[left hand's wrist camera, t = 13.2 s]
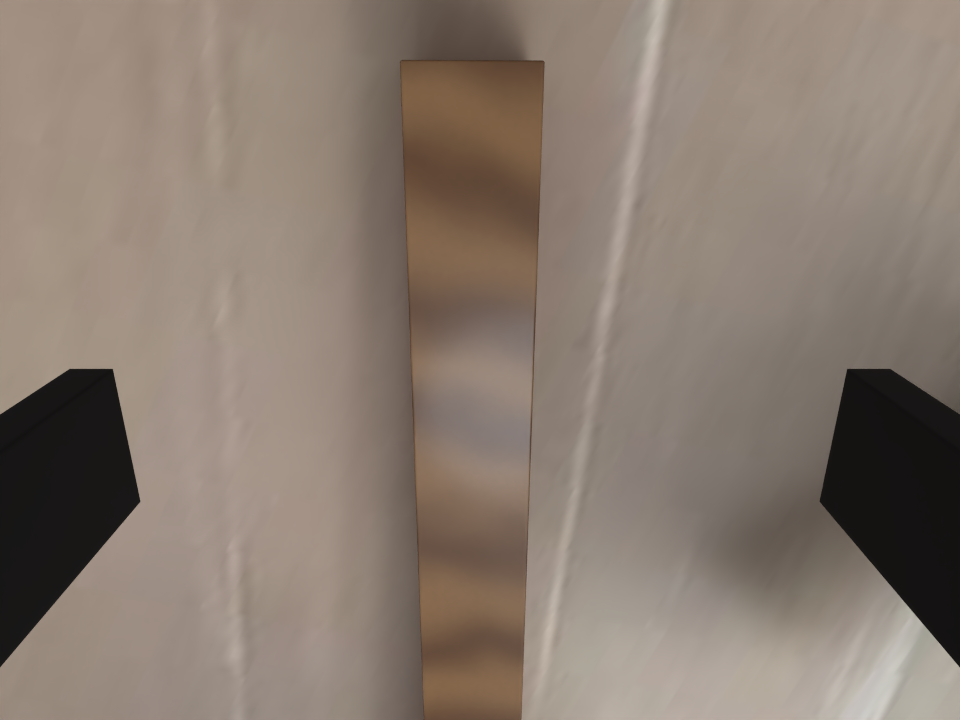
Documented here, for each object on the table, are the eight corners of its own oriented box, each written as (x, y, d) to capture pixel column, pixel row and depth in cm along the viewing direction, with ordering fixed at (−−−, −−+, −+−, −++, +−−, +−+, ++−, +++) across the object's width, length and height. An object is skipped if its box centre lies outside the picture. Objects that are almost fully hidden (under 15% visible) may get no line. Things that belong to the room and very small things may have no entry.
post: (415, 66, 33) (399, 60, 26) (530, 67, 33) (544, 60, 26) (440, 937, 58) (435, 1050, 51) (505, 936, 58) (509, 1049, 51)
